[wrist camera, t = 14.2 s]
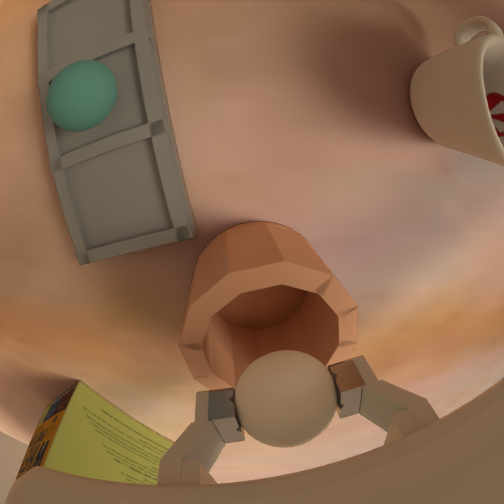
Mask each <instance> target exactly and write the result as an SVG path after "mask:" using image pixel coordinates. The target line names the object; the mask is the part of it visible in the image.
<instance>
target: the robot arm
mask: <svg viewBox="0 0 504 504" xmlns="http://www.w3.org/2000/svg"><path fill="white" fill-rule="evenodd" d="M327 369H328V370H329V372H330V373H331V375H332V377H333V379H334V381H335V387H336V391H337V396H338V397H337V407H336V410H337V412H338V415H339V417H340V419H341V418H344V417H348V416H351V415H354V414H358V413H360V414H361V415H362V416H364V417H365V418H367V419H368V420H370V421H371V422H373V423H374V424H376V425H377V426H379V427H380V428H382V429H384V430H385V431H387V432H388V434H387V437H386V440H385V443H384V445H383V446H381V447H378V448H376V449H373V450H370V451H368V452H365V453H362V454H359V455H356V456H353V457H350V458H347V459H344V460H341V461H338V462H334V463H331V464H327V465H324V466H320V467H316V468H312V469H308V470H304V471H300V472H295V473H291V474H286V475H281V476H275V477H270V478H264V479H257V480H250V481H242V482H233V483H222V484H218V483H217V482H216V481H215V480H214V479H213V478H212V476H211V475H210V474H209V471H210V469H211V468H212V466H213V464H214V463H215V461H216V459H217V458H218V456H219V454H220V453H221V451H222V449H223V447H224V446H225V444H226V443H232V442H239V441H245V434H244V428H243V427H242V425H241V423H240V422H239V420H238V415H237V411H236V408H235V405H234V394H235V389H234V387H231V388H224V389H216V390H209V391H201V392H197V395H196V408H195V422H193V423H191V424H190V425H189V426H188V427H187V428H186V430H185V431H184V432H183V433H182V434H181V436H180V437H179V438H178V439H177V440H176V442H175V443H174V444H173V445H172V446H171V447H170V449H169V450H168V451H167V452H166V453H165V454H164V455H163V457H162V458H161V459H160V462H159V470H158V479H157V485H150V484H135V483H125V482H116V481H108V480H101V479H95V478H89V477H84V476H79V475H74V474H70V473H65V472H61V471H57V470H53V469H49V468H46V467H42V466H36V467H34V468H32V469H30V470H29V471H27V472H26V473H25V474H23V475H22V476H21V477H19V478H18V479H17V480H16V481H15V482H14V483H13V485H12V487H11V489H10V491H9V493H8V496H7V498H6V501H5V503H4V504H504V378H503V379H501V380H500V381H499V382H497V383H496V384H495V385H493V386H492V387H490V388H489V389H488V390H486V391H485V392H483V393H482V394H480V395H479V396H477V397H476V398H474V399H473V400H471V401H470V402H468V403H466V404H465V405H463V406H461V407H460V408H458V409H456V410H455V411H453V412H451V413H450V414H448V415H446V416H444V417H443V418H441V419H439V417H438V416H437V414H436V413H435V411H434V410H433V408H432V407H431V405H430V404H429V402H428V401H427V399H426V398H423V397H421V396H419V395H416V394H414V393H411V392H409V391H407V390H404V389H402V388H400V387H397V386H395V385H393V384H391V383H388V382H386V381H384V380H379V381H378V379H377V377H376V376H375V374H374V372H373V371H372V369H371V367H370V366H369V364H368V362H367V361H366V359H365V357H364V356H362V355H361V356H358V357H355V358H351V359H348V360H345V361H342V362H338V363H335V364H332V365H328V367H327Z"/></svg>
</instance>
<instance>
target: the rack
mask: <svg viewBox="0 0 504 504" xmlns="http://www.w3.org/2000/svg"><path fill="white" fill-rule="evenodd" d="M37 18H38V34H37V56H38V77H37V81H38V88H39V91H40V101H41V110H42V118H43V125H44V131H45V137H46V143H47V148H48V153H49V158H50V162H49V164H50V169H51V173H52V174H53V176H54V180H55V184H56V188H57V192H58V196H59V200H60V203H61V207H62V210H63V214H64V217H65V220H66V223H67V226H68V230H69V233H70V236H71V239H72V241H73V244H74V247H75V250H76V256H77V259H78V262H79V264H80V265H83V264H87V263H91V262H95V261H99V260H103V259H107V258H111V257H115V256H119V255H123V254H127V253H132V252H136V251H140V250H144V249H148V248H152V247H157V246H161V245H165V244H169V243H174V242H178V241H182V240H187V239H191V238H193V236H194V235H195V234H196V231H197V229H196V225H195V221H194V217H193V214H192V210H191V206H190V202H189V197H188V193H187V189H186V185H185V181H184V177H183V172H182V168H181V164H180V159H179V155H178V150H177V146H176V141H175V137H174V132H173V127H172V123H171V118H170V113H169V108H168V103H167V98H166V93H165V87H164V82H163V77H162V71H161V65H160V60H159V54H158V48H157V42H156V35H155V29H154V22H153V16H152V8H151V1H150V0H53V1H51V2H50V3H48V4H46V5H45V6H43V7H41V8H40V9H38V12H37ZM81 60H94V61H98V62H101V63H103V64H104V65H106V66H107V67H108V68H109V69H110V70H111V71H112V73H113V75H114V76H115V79H116V83H117V97H116V101H115V104H114V106H113V108H112V110H111V112H110V113H109V115H108V116H107V117H106V118H105V119H104V120H103V121H102V122H101V123H99V124H98V125H97V126H95V127H93V128H91V129H88V130H85V131H80V132H71V131H67V130H64V129H62V128H60V127H58V126H57V125H56V124H55V123H54V122H53V121H52V119H51V118H50V116H49V114H48V111H47V105H46V98H47V93H48V89H49V86H50V84H51V82H52V81H53V79H54V78H55V76H56V75H57V74H58V73H59V72H60V71H61V70H62V69H64V68H65V67H66V66H68V65H70V64H72V63H74V62H77V61H81Z"/></svg>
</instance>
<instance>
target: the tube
mask: <svg viewBox="0 0 504 504" xmlns="http://www.w3.org/2000/svg"><path fill="white" fill-rule="evenodd" d="M357 338H358V306H357V305H356V303H355V302H354V301H353V299H352V298H351V297H350V295H349V294H348V293H347V291H346V290H345V289H344V288H343V286H342V285H341V284H340V282H339V281H338V280H337V279H336V277H335V276H334V275H333V274H332V272H331V271H330V270H329V268H328V267H327V266H326V265H325V263H324V262H323V261H322V260H321V259H320V257H319V256H318V255H317V254H316V252H315V251H314V249H313V248H312V246H311V245H310V244H309V243H308V242H307V241H306V240H305V239H304V238H303V237H302V235H301V234H300V233H297V232H296V231H294V230H292V229H291V228H289V227H286V226H284V225H281V224H277V223H273V222H265V221H254V222H248V223H243V224H239V225H236V226H234V227H231V228H229V229H227V230H225V231H224V232H222V233H220V234H219V235H218V236H216V237H215V238H214V239H213V240H212V241H211V242H210V243H209V244H208V245H207V246H206V247H205V249H204V250H203V251H202V253H201V254H200V256H199V259H198V261H197V264H196V266H195V270H194V275H193V280H192V284H191V288H190V292H189V297H188V302H187V307H186V312H185V317H184V322H183V327H182V332H181V337H180V342H179V347H180V349H181V351H182V354H183V356H184V358H185V360H186V363H187V365H188V367H189V369H190V371H191V374H192V376H193V378H194V379H195V380H197V381H198V382H199V383H201V384H202V385H204V386H205V387H207V388H209V389H210V390H216V389H224V388H231V387H234V389H235V388H236V385H237V383H238V380H239V378H240V377H241V375H242V373H243V372H244V371H245V369H246V368H247V367H248V366H249V365H250V364H251V363H253V362H254V361H255V360H257V359H258V358H260V357H262V356H264V355H266V354H269V353H272V352H276V351H282V350H293V351H299V352H303V353H306V354H309V355H310V356H312V357H314V358H316V359H317V360H319V361H320V362H321V363H322V364H324V366H325V367H326V368H327V367H328V365H332V364H335V363H338V362H342V361H345V360H347V359H348V357H349V355H350V354H351V352H352V351H353V349H354V347H355V346H356V344H357Z"/></svg>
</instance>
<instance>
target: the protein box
mask: <svg viewBox="0 0 504 504" xmlns="http://www.w3.org/2000/svg"><path fill="white" fill-rule="evenodd" d="M173 444H174V442H172V441H170V440H168V439H166V438H165V437H163V436H161V435H159V434H158V433H156V432H154V431H152V430H151V429H149V428H147V427H146V426H144V425H142V424H141V423H139V422H138V421H136V420H135V419H133V418H131V417H130V416H128V415H127V414H125V413H124V412H122V411H121V410H119V409H118V408H116V407H115V406H113V405H112V404H111V403H109V402H108V401H106V400H105V399H104V398H102V397H101V396H100V395H98V394H97V393H96V392H94V391H93V390H92V389H90V388H89V387H88V386H87V385H85V384H84V383H83V382H81V381H78V382H77V383H76V384H75V385H73V386H72V387H71V388H70V389H68V390H67V391H66V392H64V393H63V394H62V395H61V396H60V397H58V398H57V399H56V400H55V401H53V402H52V403H51V404H50V405H49V406H47V407H46V408H45V410H44V413H43V415H42V417H41V419H40V421H39V423H38V426H37V428H36V430H35V432H34V435H33V437H32V439H31V442H30V444H29V447H28V449H27V452H26V454H25V456H24V459H23V462H22V464H21V467H20V470H19V472H18V475H17V478H16V480H17V479H18V478H19V477H21V476H22V475H23V474H25V473H26V472H27V471H29V470H30V469H32V468H34V467H36V466H42V467H46V468H49V469H53V470H57V471H61V472H65V473H70V474H74V475H79V476H84V477H89V478H95V479H101V480H108V481H116V482H125V483H135V484H150V485H157V479H158V470H159V462H160V459H161V458H162V457H163V455H164V454H165V453H166V452H167V451H168V450H169V449H170V447H171V446H172V445H173ZM16 480H15V481H16Z"/></svg>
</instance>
